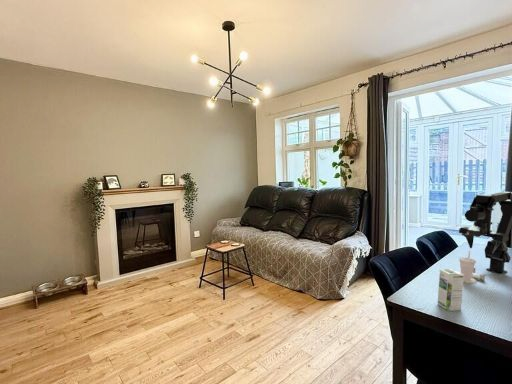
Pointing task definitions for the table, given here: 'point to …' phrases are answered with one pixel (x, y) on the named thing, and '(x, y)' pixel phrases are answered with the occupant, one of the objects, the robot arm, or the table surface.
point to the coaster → (470, 281)
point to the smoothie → (467, 266)
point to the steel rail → (478, 276)
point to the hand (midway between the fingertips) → (481, 250)
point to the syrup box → (450, 289)
